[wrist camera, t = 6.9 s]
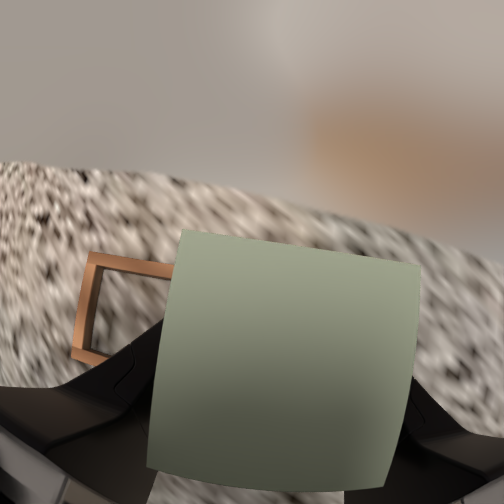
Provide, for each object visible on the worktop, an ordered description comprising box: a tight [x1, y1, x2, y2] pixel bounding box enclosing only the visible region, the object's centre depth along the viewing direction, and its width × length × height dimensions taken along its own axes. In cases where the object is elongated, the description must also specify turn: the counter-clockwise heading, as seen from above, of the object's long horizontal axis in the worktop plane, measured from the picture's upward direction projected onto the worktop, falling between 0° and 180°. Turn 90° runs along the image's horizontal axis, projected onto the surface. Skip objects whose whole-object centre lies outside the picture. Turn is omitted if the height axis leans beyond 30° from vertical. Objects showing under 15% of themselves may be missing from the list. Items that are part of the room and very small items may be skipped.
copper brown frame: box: [71, 251, 174, 366], centre depth 20 cm, size 9×22×1 cm, turn 82°
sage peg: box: [146, 229, 421, 492], centre depth 10 cm, size 4×4×12 cm
